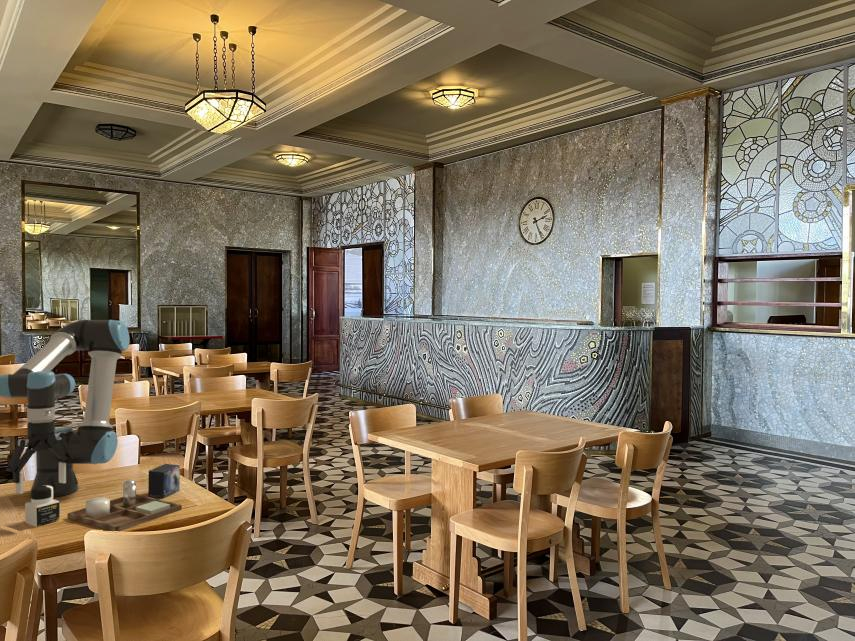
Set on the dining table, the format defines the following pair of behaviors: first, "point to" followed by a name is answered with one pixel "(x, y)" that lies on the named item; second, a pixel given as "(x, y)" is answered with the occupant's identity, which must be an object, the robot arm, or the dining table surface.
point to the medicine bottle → (42, 507)
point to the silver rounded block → (97, 507)
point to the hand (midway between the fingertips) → (41, 487)
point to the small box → (164, 481)
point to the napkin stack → (152, 507)
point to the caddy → (124, 514)
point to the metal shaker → (129, 493)
